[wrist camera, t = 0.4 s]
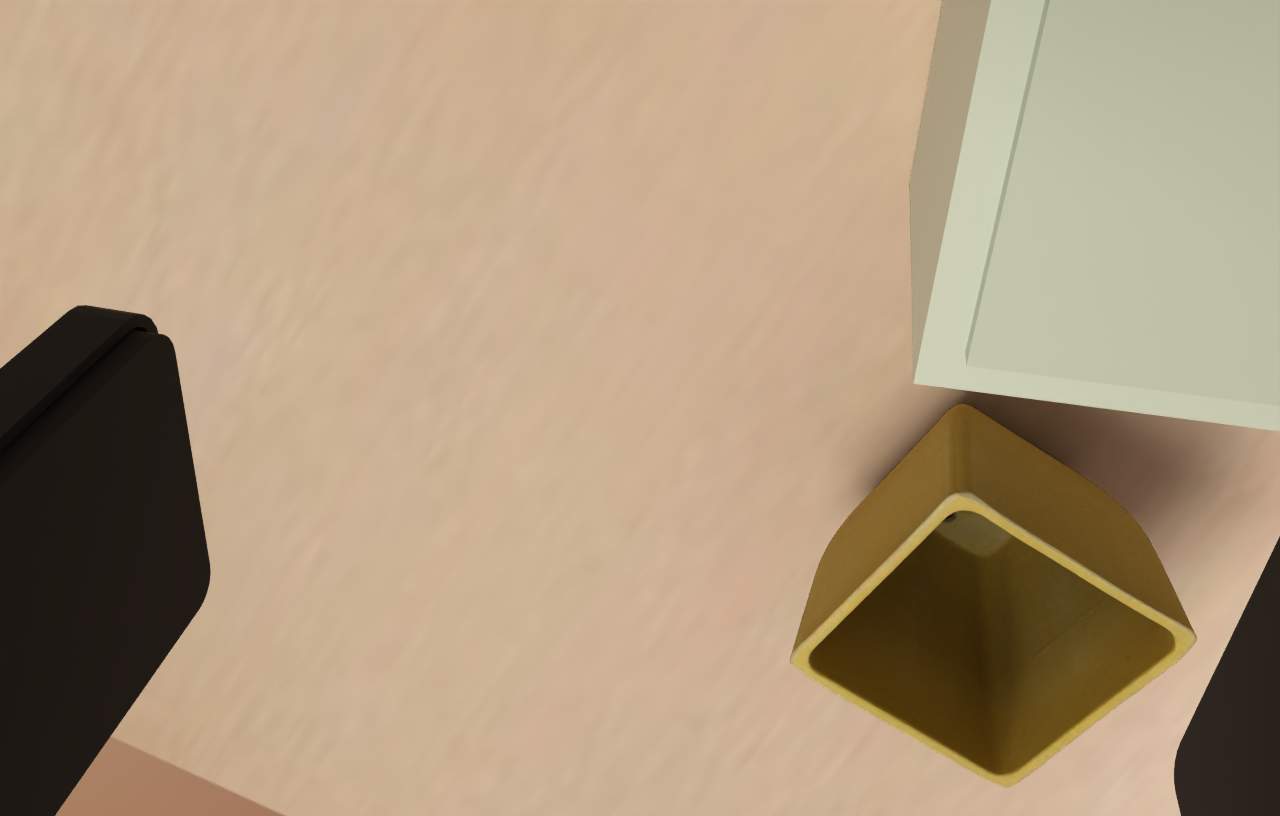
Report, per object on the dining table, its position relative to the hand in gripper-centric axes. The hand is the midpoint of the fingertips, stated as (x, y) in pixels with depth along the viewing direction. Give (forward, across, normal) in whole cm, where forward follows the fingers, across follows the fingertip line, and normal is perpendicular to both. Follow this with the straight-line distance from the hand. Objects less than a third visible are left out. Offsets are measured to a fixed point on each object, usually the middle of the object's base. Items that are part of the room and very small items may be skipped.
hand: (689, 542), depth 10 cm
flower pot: (+29, -8, +19) cm, 36 cm away
